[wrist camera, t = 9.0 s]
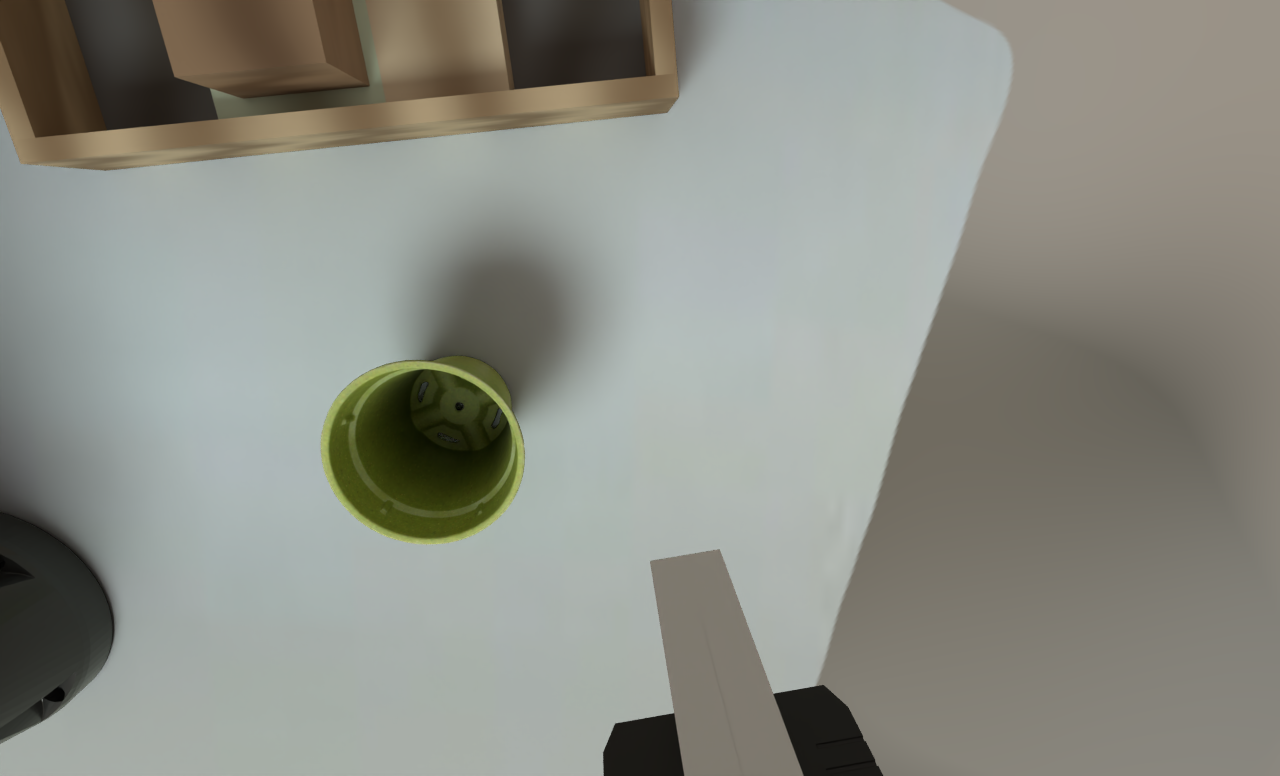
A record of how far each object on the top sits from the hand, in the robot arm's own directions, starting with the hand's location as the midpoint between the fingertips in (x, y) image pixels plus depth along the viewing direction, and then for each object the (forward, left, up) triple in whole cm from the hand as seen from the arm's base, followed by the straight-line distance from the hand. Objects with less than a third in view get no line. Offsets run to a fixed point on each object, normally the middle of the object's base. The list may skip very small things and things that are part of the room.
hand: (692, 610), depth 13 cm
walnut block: (-14, +18, -22) cm, 32 cm away
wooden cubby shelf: (-11, +18, -25) cm, 33 cm away
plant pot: (-10, -2, -25) cm, 27 cm away
